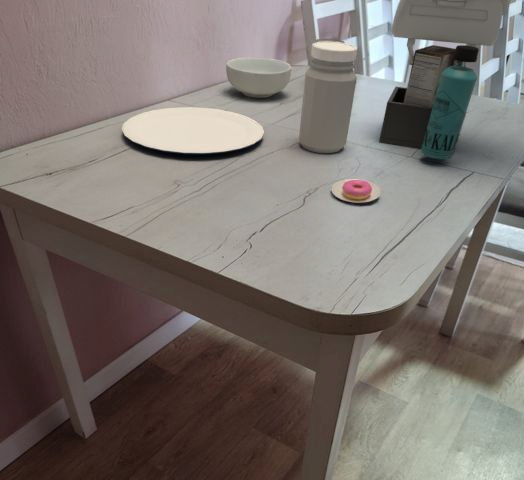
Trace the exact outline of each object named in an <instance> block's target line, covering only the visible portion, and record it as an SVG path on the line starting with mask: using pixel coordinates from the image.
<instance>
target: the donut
mask: <svg viewBox="0 0 524 480" xmlns="http://www.w3.org/2000/svg"><path fill="white" fill-rule="evenodd" d="M373 182H374V180H372V181H369V180H365V179H360V178H347V179H342V180H339V181H337V182H335V183H333V185H332V186H331V193H332V194H333V196H335V197H336V198H338V199H339V200H340V201H341V200H342V201H344V202H347V203H348V202H349V203H353V204H362V203H363V204H364V203H369V202H372V201H375V200H376V199H378V198H379V197H380V196H381V191H382V190H381V188H380V187H379V186H378V185H377V184H375V183H373Z"/></svg>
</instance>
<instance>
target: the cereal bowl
mask: <svg viewBox="0 0 524 480" xmlns="http://www.w3.org/2000/svg"><path fill="white" fill-rule="evenodd" d="M225 69H226V70H225V71H226V78H227V80H228V82H229V84H230V85H231V87H232V88H234V89H235V90H236V91H238V92H241V93H242V94H243V96H246V97H248V98H255V99H265V98H266V99H268V98H271V97H273V95H274V94H277V93H280V92H281V91H283V90H284V89H285V88H286V87H287V86H288V84H289V83H290V81H291V74H292V65H291V64H289V63H288V62H287V61H284V60H280V59H274V58H268V57H256V56H255V57H254V56H253V57H252V56H251V57H238V58H233V59H230V60H228V61H226V64H225Z"/></svg>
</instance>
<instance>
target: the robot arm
mask: <svg viewBox="0 0 524 480" xmlns="http://www.w3.org/2000/svg"><path fill="white" fill-rule="evenodd" d="M510 4H511V0H399V2H398V4H397V7H396V10H395V13H394V17H393V20H392V25H391V31H390V32H391V35H392V36H393V37H394V38H401V39H407V40H406V47H407V51H408V54H409V58H408V59H409V60H408V65H409V66H412V63H413V58H414V54H415V50H414V48H413V46H414V45H415V43H416V40H421V41H422V40H423V41H433V42H441V43H453V44H463V45H467V46H473V47H476V46H485V47H491V46H493V45H495V44H496V42H497V41H498V38H499V34H500V31H501V27H502V21H503V20H502V19H503V16H504V15H505V14H506V13H507V11H508V9H509V8H510ZM465 65H466V62H461V61H458V62H457V66H462V67H465Z"/></svg>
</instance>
